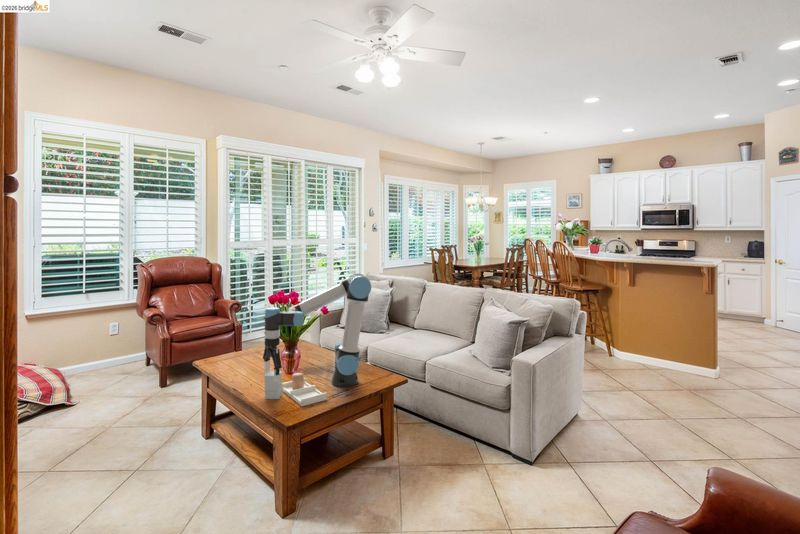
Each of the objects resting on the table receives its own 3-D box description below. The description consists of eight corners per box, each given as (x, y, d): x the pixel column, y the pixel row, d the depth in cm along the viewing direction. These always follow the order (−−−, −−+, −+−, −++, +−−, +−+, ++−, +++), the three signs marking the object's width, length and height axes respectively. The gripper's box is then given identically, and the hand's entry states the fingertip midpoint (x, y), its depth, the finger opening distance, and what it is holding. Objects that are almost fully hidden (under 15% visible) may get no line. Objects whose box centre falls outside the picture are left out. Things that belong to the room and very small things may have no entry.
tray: (304, 383, 228) (304, 368, 227) (326, 399, 207) (326, 382, 206) (280, 389, 219) (280, 373, 219) (301, 406, 198) (301, 388, 198)
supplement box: (282, 393, 213) (282, 371, 212) (278, 399, 206) (278, 375, 205) (269, 393, 213) (268, 370, 212) (264, 399, 206) (264, 375, 205)
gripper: (256, 333, 215) (256, 371, 216) (274, 343, 195) (273, 385, 197) (270, 331, 220) (270, 368, 221) (288, 341, 200) (288, 382, 202)
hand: (271, 376), depth 209 cm, fingers open, 13 cm apart
